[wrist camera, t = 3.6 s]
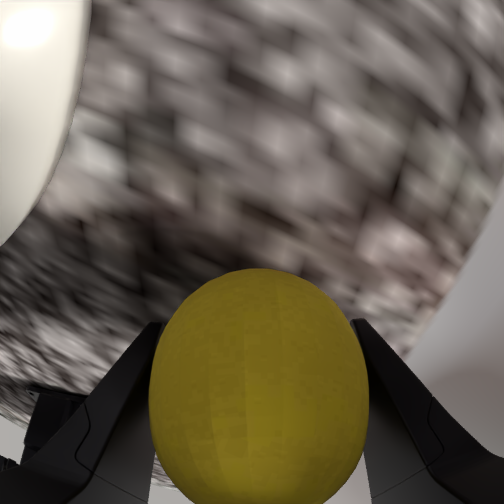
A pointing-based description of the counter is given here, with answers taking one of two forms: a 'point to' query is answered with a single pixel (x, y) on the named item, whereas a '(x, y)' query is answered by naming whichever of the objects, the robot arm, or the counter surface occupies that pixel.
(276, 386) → the lemon
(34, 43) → the plate
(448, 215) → the counter surface
